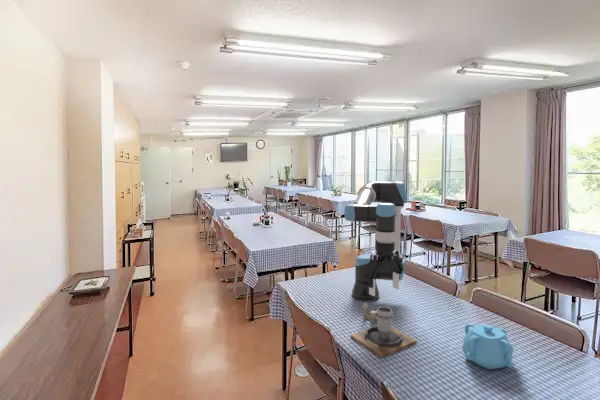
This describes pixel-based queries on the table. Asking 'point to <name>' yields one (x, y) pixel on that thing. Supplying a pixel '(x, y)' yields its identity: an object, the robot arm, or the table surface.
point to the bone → (372, 313)
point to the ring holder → (383, 341)
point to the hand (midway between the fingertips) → (384, 291)
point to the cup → (384, 322)
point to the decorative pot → (487, 346)
